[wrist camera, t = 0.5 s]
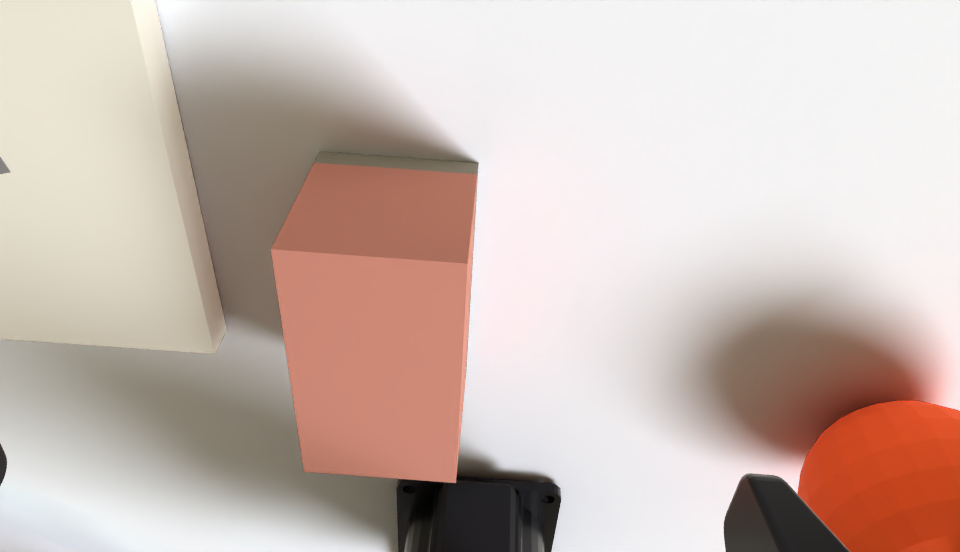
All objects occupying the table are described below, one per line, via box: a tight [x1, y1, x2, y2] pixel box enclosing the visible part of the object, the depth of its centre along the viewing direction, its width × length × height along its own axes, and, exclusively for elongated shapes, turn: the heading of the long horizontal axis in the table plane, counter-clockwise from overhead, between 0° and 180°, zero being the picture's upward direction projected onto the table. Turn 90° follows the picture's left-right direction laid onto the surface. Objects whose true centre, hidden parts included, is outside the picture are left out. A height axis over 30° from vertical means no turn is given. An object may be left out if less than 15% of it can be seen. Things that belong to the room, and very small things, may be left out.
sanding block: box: [271, 152, 478, 483], centre depth 21 cm, size 8×4×5 cm, turn 177°
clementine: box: [798, 401, 960, 552], centre depth 23 cm, size 8×7×7 cm
